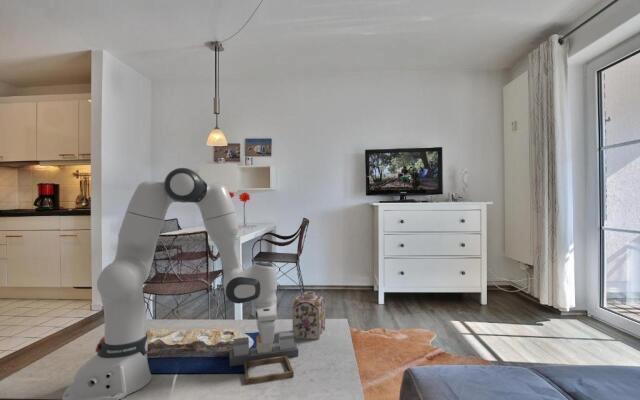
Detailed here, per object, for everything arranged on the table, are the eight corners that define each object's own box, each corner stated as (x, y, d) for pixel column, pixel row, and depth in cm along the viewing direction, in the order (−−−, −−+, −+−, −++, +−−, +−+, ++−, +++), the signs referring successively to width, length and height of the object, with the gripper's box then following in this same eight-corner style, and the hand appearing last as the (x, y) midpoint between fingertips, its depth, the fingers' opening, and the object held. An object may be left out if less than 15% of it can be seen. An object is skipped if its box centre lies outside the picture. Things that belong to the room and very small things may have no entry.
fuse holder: (230, 369, 108) (230, 358, 108) (229, 361, 113) (229, 351, 113) (298, 359, 115) (298, 349, 115) (294, 352, 120) (294, 342, 120)
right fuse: (280, 357, 114) (280, 336, 114) (278, 353, 117) (278, 333, 117) (294, 355, 116) (293, 335, 116) (292, 351, 119) (292, 332, 119)
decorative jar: (325, 331, 140) (325, 290, 141) (319, 342, 129) (319, 297, 129) (299, 328, 143) (299, 288, 143) (291, 339, 132) (291, 295, 132)
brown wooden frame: (246, 387, 97) (246, 379, 97) (243, 369, 108) (243, 361, 108) (293, 380, 101) (293, 372, 101) (286, 362, 112) (286, 355, 112)
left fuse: (233, 363, 110) (233, 342, 110) (233, 359, 112) (233, 339, 113) (248, 361, 111) (248, 340, 111) (248, 357, 114) (248, 337, 114)
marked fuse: (257, 360, 112) (257, 339, 112) (256, 356, 115) (256, 336, 115) (271, 358, 113) (271, 337, 113) (270, 354, 116) (270, 334, 116)
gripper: (252, 300, 123) (252, 336, 123) (258, 318, 104) (258, 361, 104) (269, 299, 125) (269, 334, 125) (277, 316, 106) (277, 358, 105)
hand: (264, 347), depth 114 cm, fingers open, 6 cm apart
